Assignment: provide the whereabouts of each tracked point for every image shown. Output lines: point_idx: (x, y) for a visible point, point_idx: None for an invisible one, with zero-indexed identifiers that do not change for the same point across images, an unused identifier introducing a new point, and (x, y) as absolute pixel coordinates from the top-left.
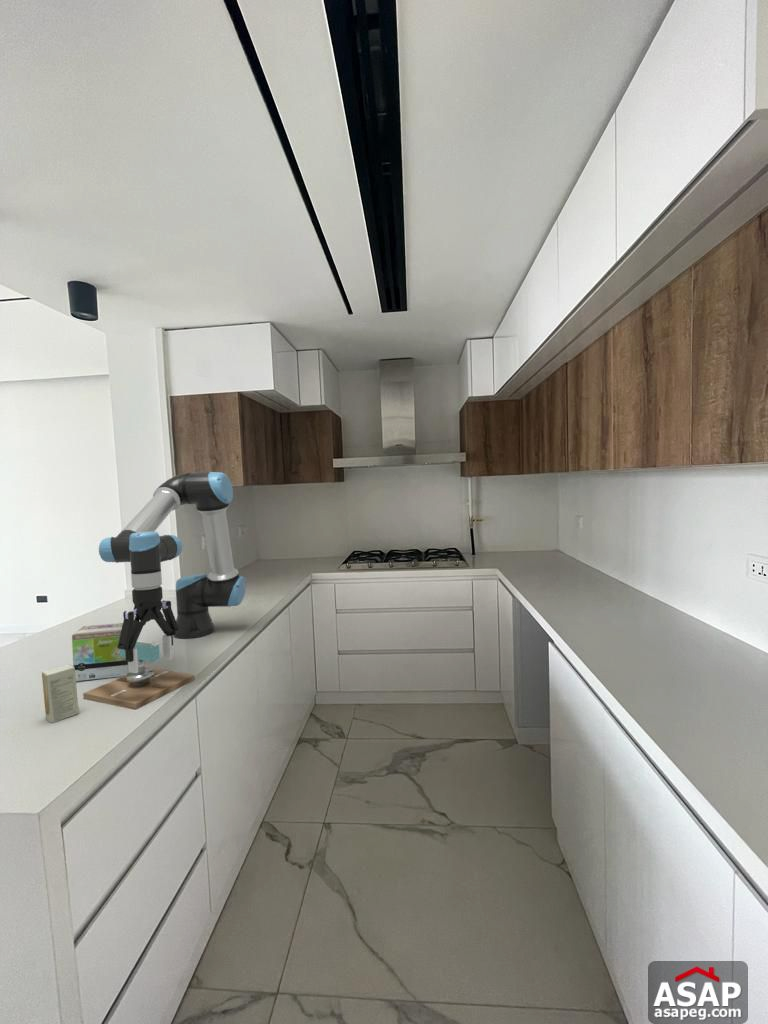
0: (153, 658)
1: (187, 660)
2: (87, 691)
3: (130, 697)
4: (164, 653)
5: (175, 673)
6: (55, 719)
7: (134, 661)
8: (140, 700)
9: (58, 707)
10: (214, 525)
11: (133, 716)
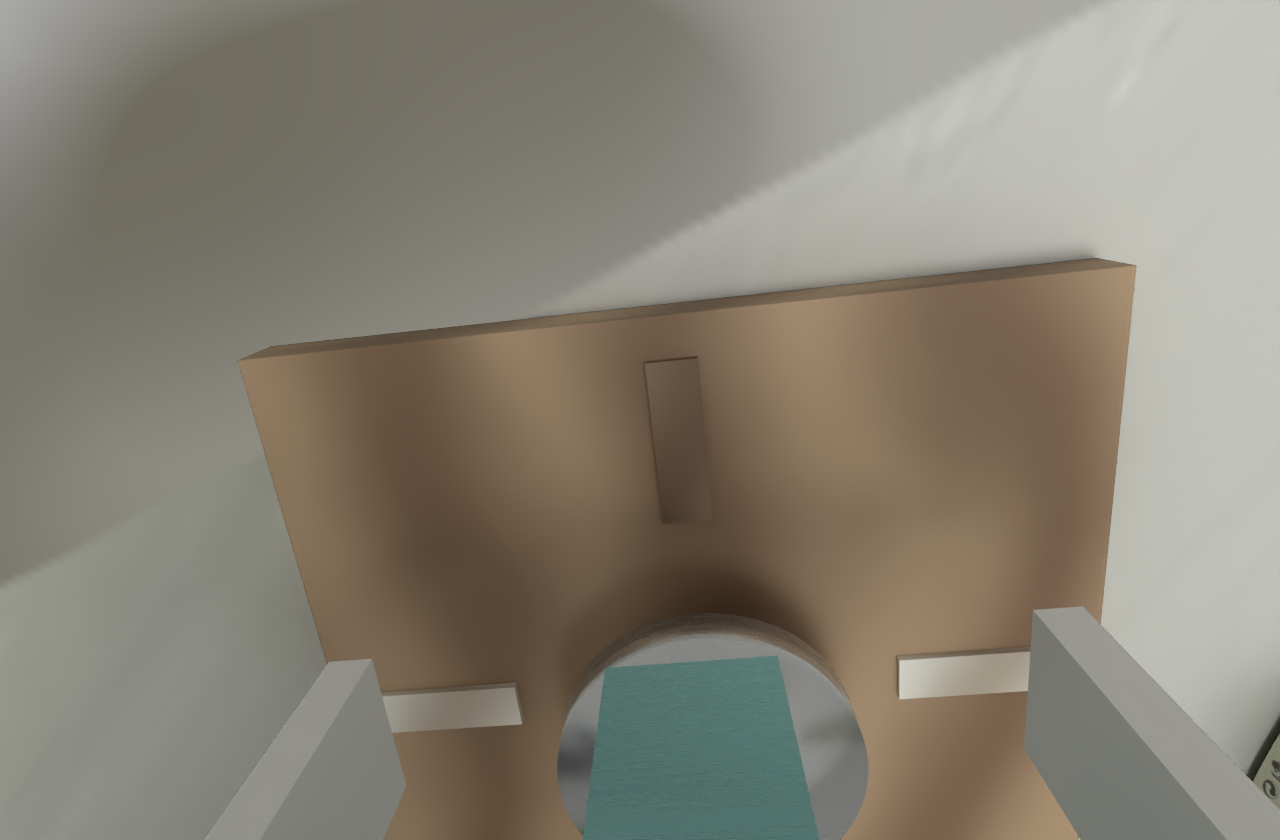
0: (760, 696)
1: (47, 829)
2: None
3: (1013, 476)
4: (369, 829)
5: (346, 595)
6: None
7: (1233, 784)
8: (1046, 292)
9: None
10: None
11: (1245, 112)
